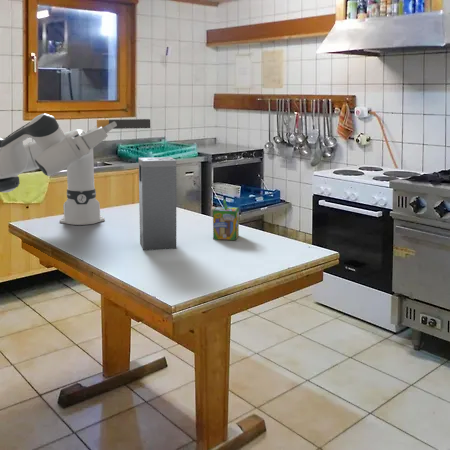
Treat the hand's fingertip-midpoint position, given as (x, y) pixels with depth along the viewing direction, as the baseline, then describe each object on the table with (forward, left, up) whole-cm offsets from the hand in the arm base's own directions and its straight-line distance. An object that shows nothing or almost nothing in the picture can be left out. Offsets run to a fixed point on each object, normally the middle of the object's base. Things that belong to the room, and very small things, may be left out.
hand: (115, 122), depth 199 cm
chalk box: (-9, +42, -45) cm, 62 cm away
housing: (-1, +14, -45) cm, 47 cm away
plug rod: (0, +3, -2) cm, 3 cm away
